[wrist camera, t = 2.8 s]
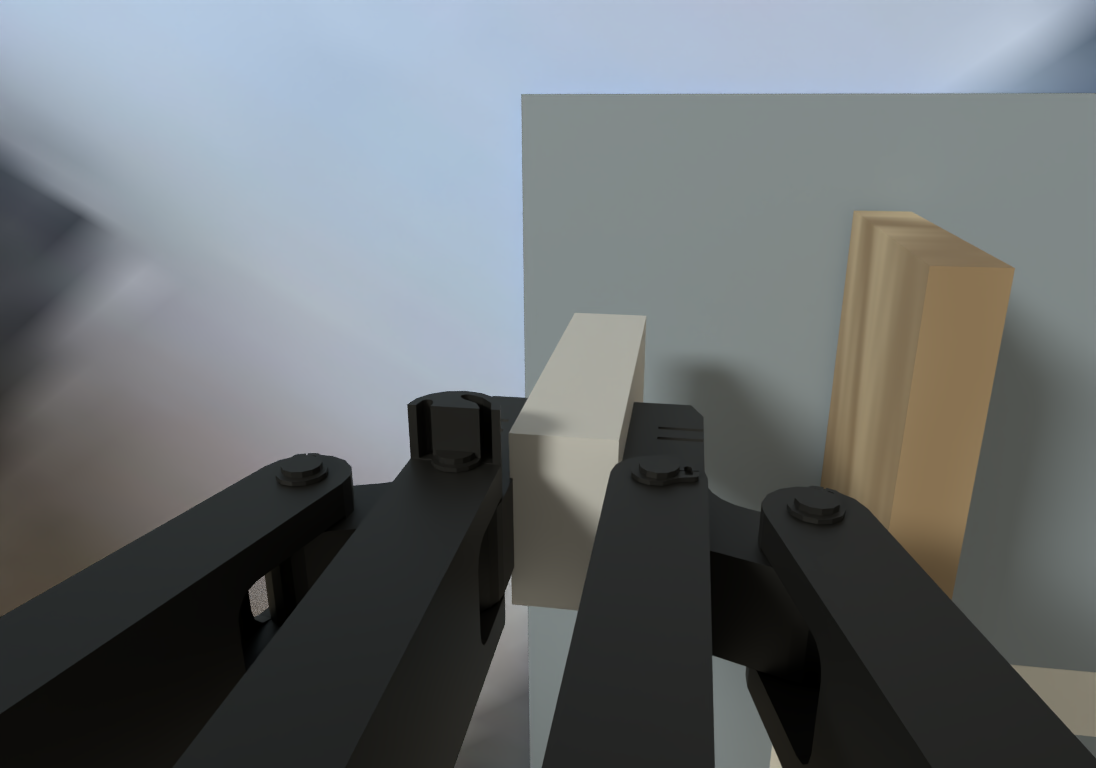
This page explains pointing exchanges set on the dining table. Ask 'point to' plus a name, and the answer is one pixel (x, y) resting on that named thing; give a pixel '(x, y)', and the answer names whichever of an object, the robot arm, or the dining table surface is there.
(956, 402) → the hinged panel
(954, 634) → the robot arm
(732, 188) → the card
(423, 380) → the dining table surface
